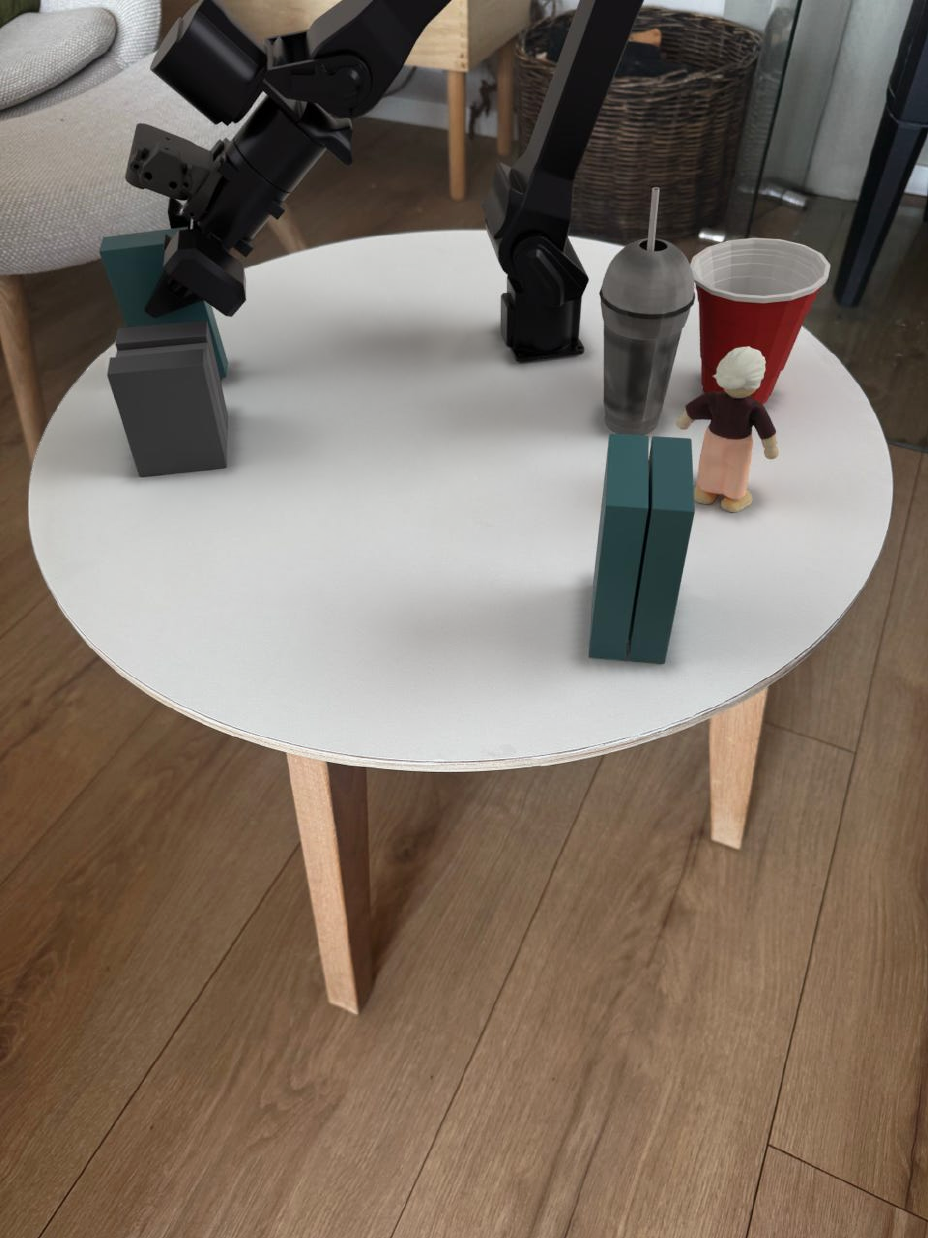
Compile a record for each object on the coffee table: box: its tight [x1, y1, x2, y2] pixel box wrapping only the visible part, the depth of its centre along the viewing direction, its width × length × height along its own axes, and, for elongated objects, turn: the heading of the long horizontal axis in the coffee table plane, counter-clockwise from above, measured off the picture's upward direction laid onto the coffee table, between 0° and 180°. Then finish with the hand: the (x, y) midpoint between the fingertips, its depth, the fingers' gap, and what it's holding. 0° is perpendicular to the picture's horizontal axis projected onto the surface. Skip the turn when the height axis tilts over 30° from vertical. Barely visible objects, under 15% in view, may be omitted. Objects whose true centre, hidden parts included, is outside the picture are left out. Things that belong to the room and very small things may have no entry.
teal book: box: [98, 227, 229, 379], centre depth 85 cm, size 7×2×13 cm, turn 96°
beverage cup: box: [598, 187, 696, 436], centre depth 77 cm, size 7×7×20 cm
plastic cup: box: [689, 237, 831, 406], centre depth 82 cm, size 11×11×12 cm
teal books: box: [588, 432, 696, 665], centre depth 63 cm, size 7×5×13 cm
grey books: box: [106, 320, 229, 478], centre depth 79 cm, size 7×8×10 cm
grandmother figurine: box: [676, 347, 780, 513], centre depth 72 cm, size 8×4×13 cm, turn 71°
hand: (150, 304), depth 84 cm, fingers closed on teal book, 3 cm apart
